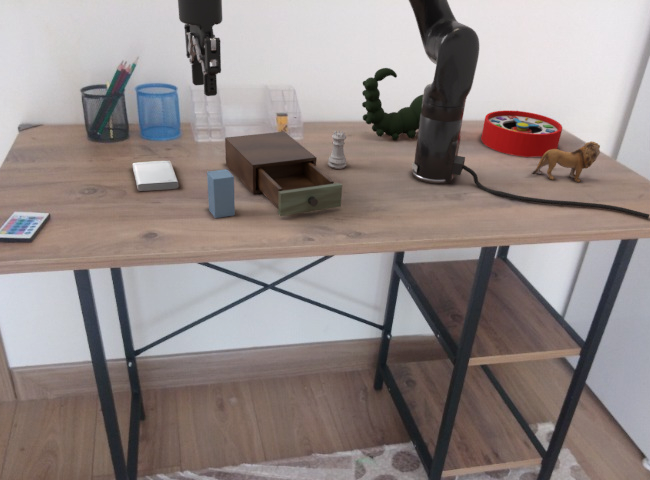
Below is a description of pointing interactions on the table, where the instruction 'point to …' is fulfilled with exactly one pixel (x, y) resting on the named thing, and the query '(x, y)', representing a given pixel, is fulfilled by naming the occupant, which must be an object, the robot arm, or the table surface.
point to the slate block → (221, 193)
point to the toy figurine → (392, 122)
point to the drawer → (298, 188)
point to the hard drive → (154, 175)
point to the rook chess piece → (337, 151)
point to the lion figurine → (570, 159)
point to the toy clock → (520, 133)
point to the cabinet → (262, 154)
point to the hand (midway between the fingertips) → (204, 89)
